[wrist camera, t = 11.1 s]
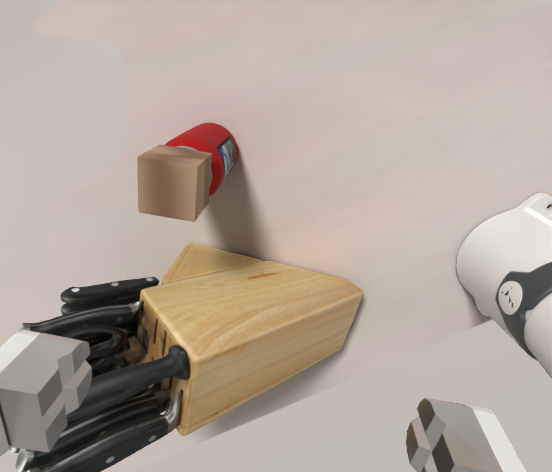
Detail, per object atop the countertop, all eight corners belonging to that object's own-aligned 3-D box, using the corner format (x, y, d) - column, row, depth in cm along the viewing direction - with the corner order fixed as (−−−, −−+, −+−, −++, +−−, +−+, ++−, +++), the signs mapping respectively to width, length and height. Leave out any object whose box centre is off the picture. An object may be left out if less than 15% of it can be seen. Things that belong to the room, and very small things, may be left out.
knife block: (125, 221, 51) (-90, 407, 23) (362, 279, 52) (425, 521, 24) (122, 285, 56) (-59, 501, 28) (338, 336, 57) (369, 593, 29)
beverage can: (222, 184, 48) (198, 219, 37) (178, 155, 46) (139, 182, 36) (249, 142, 45) (231, 165, 34) (202, 110, 44) (168, 124, 33)
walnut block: (211, 153, 34) (197, 166, 29) (208, 202, 36) (194, 221, 32) (159, 144, 34) (137, 156, 29) (159, 194, 36) (138, 212, 32)
